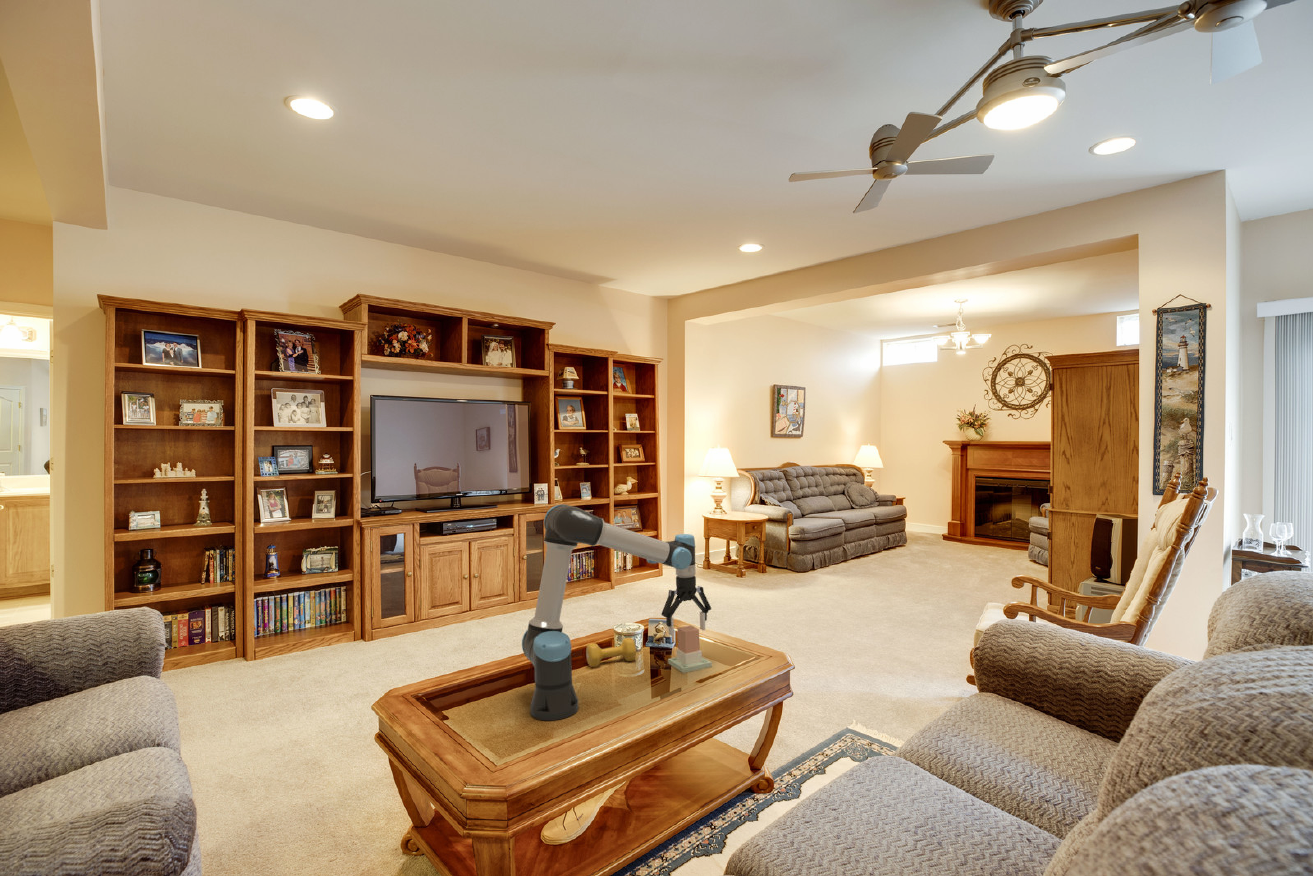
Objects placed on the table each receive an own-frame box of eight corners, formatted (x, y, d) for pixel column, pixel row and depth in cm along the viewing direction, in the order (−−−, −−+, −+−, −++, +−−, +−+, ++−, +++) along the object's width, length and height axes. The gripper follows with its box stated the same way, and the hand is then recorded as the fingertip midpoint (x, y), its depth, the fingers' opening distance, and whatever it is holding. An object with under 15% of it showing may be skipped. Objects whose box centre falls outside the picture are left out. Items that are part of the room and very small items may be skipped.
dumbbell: (631, 655, 241) (631, 635, 242) (638, 662, 233) (637, 641, 233) (585, 662, 235) (584, 641, 236) (590, 670, 227) (589, 648, 227)
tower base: (683, 673, 220) (682, 657, 220) (668, 663, 230) (667, 648, 231) (711, 666, 225) (710, 651, 225) (695, 657, 236) (694, 642, 236)
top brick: (685, 653, 224) (684, 632, 224) (678, 649, 229) (677, 628, 229) (699, 650, 226) (698, 629, 227) (691, 646, 232) (691, 625, 232)
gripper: (660, 581, 220) (662, 640, 219) (719, 573, 231) (720, 629, 230) (651, 577, 226) (653, 634, 226) (708, 570, 237) (710, 625, 237)
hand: (687, 632), depth 228 cm, fingers open, 13 cm apart
